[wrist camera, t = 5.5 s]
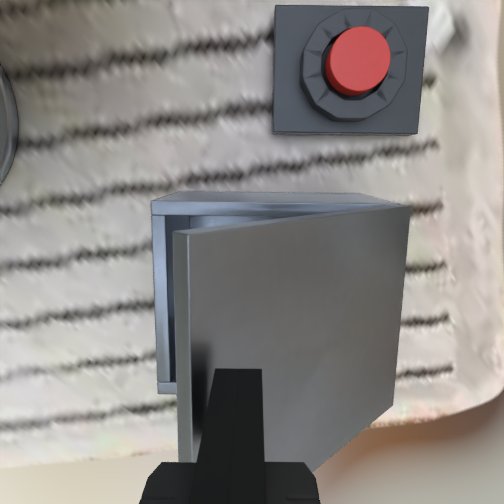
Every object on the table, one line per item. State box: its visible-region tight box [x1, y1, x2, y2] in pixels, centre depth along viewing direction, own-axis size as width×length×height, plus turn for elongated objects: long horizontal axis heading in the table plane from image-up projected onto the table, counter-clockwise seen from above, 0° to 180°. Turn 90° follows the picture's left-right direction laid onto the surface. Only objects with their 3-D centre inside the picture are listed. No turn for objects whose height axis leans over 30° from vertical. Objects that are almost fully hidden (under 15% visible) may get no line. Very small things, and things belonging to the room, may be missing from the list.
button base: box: [272, 5, 429, 136], centre depth 28 cm, size 10×8×4 cm
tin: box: [151, 191, 401, 394], centre depth 28 cm, size 14×12×9 cm
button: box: [325, 26, 391, 96], centre depth 25 cm, size 4×4×2 cm
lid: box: [173, 204, 411, 472], centre depth 18 cm, size 14×12×1 cm
